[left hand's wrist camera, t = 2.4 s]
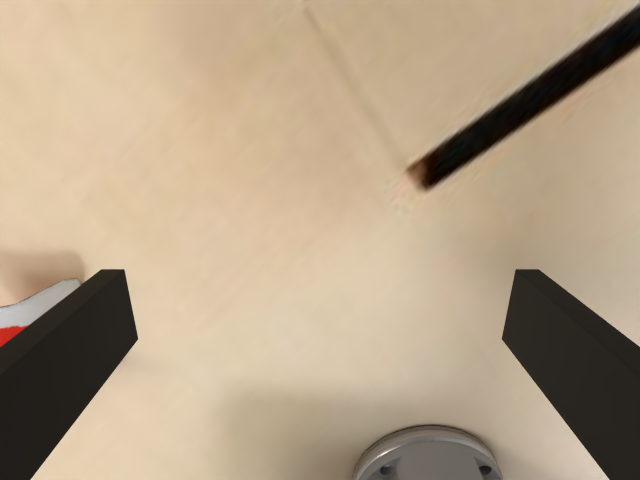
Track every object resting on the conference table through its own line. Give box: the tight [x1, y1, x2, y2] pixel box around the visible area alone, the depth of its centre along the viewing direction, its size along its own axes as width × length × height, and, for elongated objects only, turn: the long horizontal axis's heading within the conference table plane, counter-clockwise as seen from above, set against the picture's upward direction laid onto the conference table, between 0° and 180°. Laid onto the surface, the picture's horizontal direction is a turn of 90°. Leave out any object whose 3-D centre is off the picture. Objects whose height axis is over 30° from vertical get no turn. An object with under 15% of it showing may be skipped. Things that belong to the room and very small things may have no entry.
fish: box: [0, 278, 81, 347], centre depth 29 cm, size 11×16×10 cm
